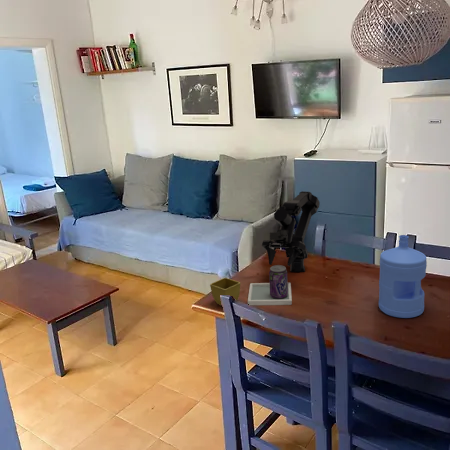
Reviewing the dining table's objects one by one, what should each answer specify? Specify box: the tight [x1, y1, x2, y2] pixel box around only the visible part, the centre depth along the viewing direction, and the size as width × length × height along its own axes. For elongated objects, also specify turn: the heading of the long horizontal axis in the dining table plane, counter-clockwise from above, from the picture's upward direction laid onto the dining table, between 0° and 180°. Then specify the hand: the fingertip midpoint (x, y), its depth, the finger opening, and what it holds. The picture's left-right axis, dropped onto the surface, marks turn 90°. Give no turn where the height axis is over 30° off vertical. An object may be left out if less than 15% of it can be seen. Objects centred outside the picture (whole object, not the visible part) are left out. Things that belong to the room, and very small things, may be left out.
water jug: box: [378, 234, 428, 319], centre depth 168 cm, size 16×16×28 cm
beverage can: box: [268, 264, 289, 298], centre depth 186 cm, size 7×7×12 cm
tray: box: [247, 282, 293, 306], centre depth 190 cm, size 17×17×2 cm
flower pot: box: [209, 277, 241, 306], centre depth 184 cm, size 9×9×9 cm
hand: (279, 265), depth 194 cm, fingers open, 9 cm apart
